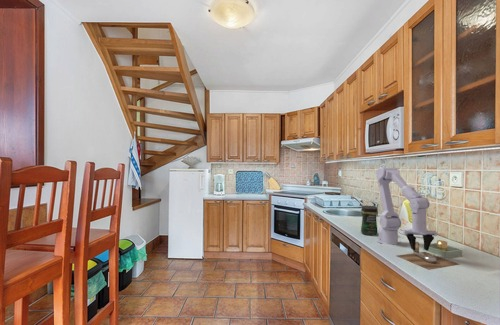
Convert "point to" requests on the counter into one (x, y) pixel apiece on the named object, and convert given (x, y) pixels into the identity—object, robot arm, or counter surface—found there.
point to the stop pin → (442, 245)
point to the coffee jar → (369, 220)
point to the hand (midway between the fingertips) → (419, 249)
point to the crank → (426, 257)
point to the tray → (450, 251)
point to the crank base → (420, 262)
